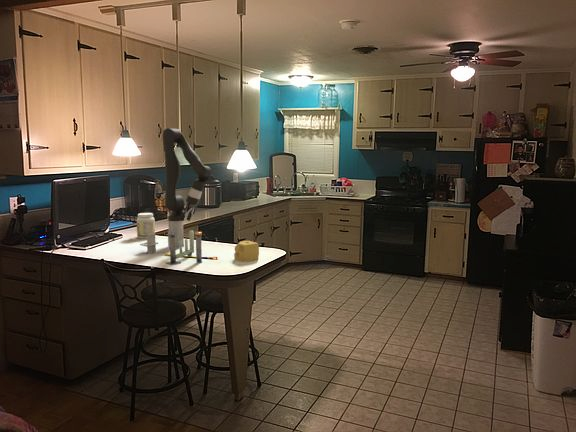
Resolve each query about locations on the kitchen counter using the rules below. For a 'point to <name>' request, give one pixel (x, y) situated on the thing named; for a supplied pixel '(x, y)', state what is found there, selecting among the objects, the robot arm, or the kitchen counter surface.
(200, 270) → the kitchen counter surface
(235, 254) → the cheese
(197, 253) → the latch post
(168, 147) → the robot arm
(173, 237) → the hinge post
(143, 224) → the supplement tub
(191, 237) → the gate
